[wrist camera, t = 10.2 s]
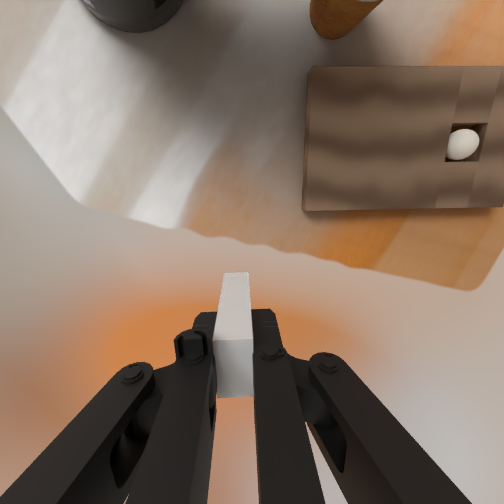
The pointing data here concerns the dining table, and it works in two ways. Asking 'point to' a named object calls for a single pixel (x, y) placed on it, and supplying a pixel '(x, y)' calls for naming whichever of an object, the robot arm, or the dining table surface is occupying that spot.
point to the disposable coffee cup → (339, 15)
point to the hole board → (402, 137)
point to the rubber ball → (462, 144)
